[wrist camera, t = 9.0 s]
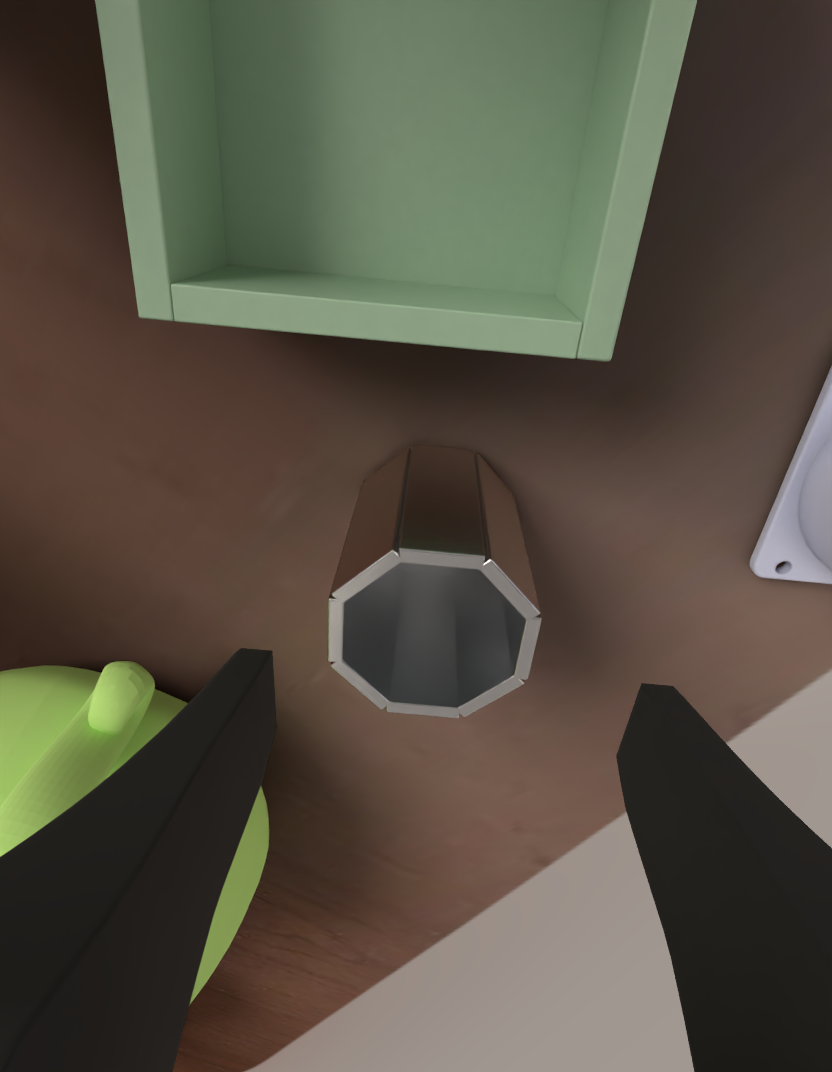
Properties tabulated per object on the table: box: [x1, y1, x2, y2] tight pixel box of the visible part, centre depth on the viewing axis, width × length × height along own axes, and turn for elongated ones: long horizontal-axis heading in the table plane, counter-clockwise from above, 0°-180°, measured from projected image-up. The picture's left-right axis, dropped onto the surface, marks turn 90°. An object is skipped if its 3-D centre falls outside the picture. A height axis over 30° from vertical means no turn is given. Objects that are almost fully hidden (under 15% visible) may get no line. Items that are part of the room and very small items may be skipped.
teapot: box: [0, 661, 269, 1004], centre depth 23 cm, size 22×15×13 cm
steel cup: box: [327, 445, 542, 718], centre depth 18 cm, size 5×5×7 cm
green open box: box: [95, 0, 697, 362], centre depth 12 cm, size 13×11×5 cm
